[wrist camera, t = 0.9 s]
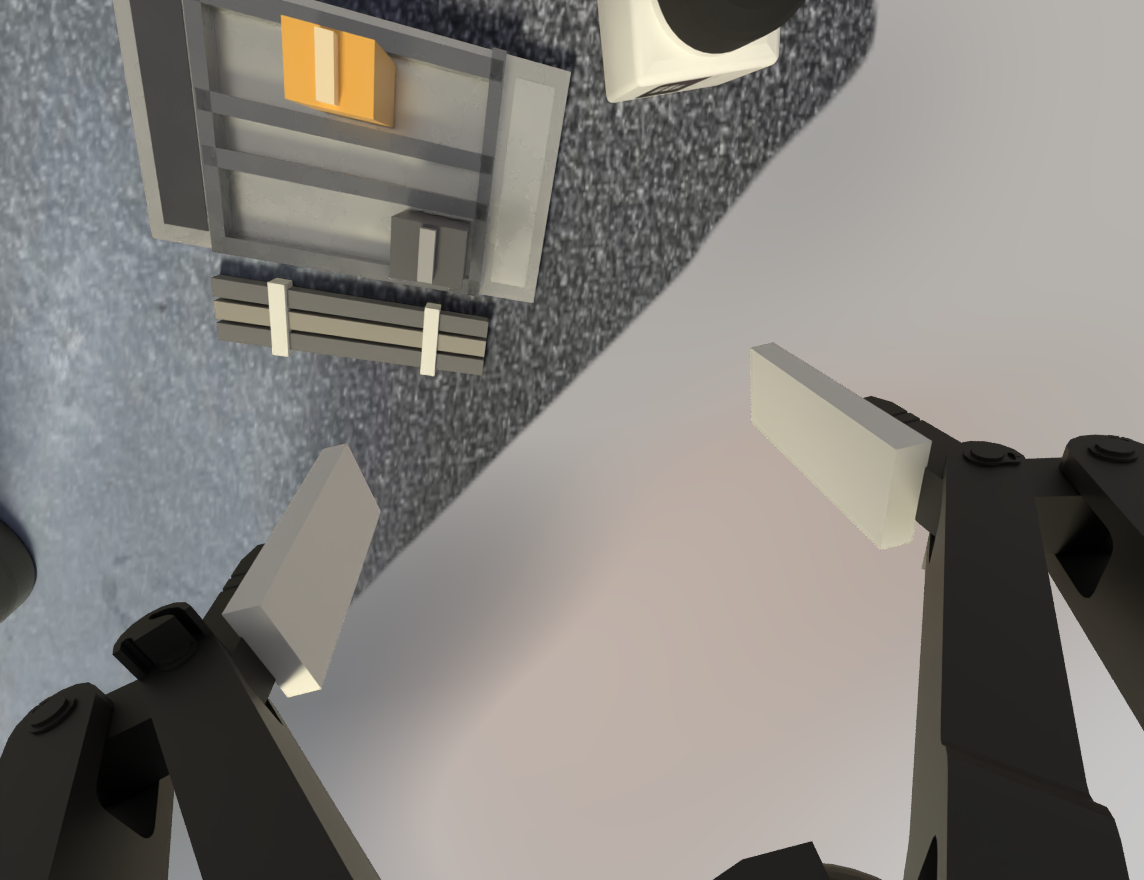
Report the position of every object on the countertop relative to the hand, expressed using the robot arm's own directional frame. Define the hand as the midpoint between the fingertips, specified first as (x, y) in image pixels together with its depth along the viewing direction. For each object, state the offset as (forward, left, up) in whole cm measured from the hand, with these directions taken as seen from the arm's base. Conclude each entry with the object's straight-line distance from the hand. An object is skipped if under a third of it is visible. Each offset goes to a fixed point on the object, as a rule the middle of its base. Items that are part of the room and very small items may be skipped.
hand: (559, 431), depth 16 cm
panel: (-11, +6, -24) cm, 27 cm away
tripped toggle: (-11, +10, -22) cm, 27 cm away
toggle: (-6, +2, -22) cm, 23 cm away
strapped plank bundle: (-11, -5, -24) cm, 26 cm away
